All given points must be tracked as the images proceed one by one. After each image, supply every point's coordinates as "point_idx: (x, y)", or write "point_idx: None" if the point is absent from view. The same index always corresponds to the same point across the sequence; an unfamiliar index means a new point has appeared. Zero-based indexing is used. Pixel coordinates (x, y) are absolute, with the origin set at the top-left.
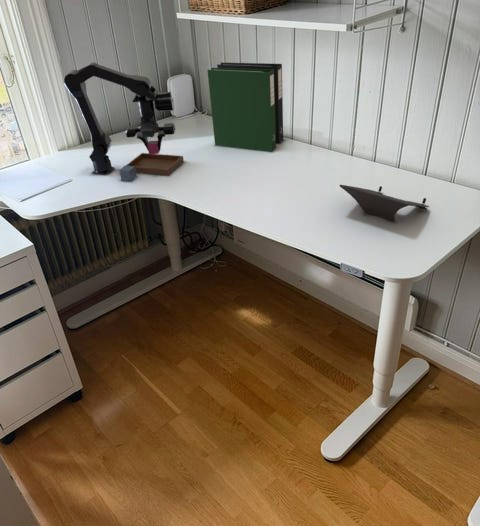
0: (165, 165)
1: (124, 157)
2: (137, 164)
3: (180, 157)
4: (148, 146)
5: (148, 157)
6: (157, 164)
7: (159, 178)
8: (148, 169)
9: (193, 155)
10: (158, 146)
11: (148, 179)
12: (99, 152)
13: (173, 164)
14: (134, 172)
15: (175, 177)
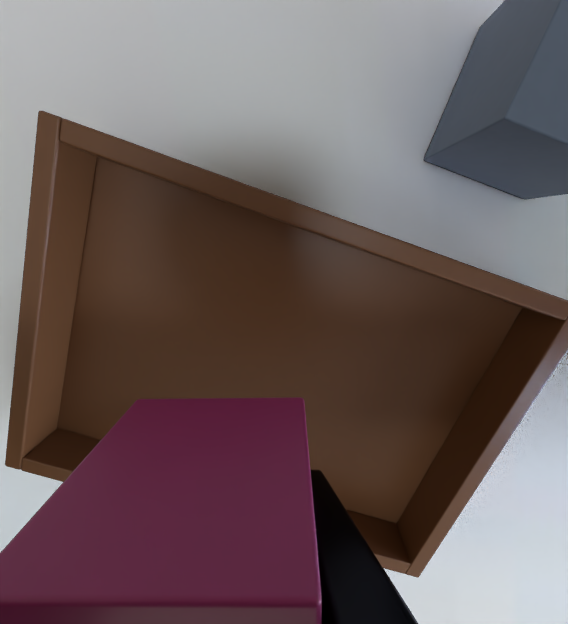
0: (175, 359)
1: (543, 561)
2: (438, 415)
3: (14, 437)
4: (288, 533)
5: (353, 518)
6: (255, 390)
7: (175, 80)
8: (306, 207)
9: (16, 521)
10: None
11: (292, 68)
12: None
13: (23, 272)
14: (474, 101)
15: (8, 83)
